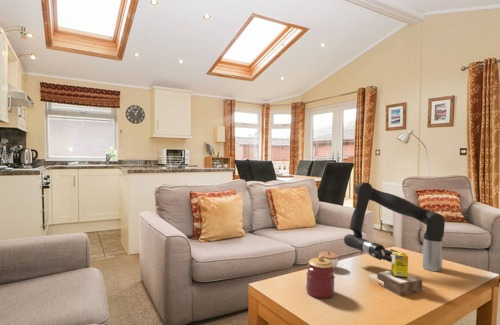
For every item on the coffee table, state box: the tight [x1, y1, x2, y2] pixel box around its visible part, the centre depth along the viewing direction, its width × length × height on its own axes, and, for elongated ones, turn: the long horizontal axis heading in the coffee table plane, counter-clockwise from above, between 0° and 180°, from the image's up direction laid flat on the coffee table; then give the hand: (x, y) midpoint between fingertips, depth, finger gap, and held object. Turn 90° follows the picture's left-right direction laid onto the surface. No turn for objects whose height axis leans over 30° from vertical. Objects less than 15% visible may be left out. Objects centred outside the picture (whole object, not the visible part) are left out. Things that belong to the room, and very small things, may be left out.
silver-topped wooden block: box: [377, 270, 423, 297], centre depth 148 cm, size 14×14×6 cm
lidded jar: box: [318, 251, 339, 268], centre depth 172 cm, size 11×11×9 cm
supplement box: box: [390, 251, 409, 278], centre depth 148 cm, size 6×6×11 cm
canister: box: [305, 255, 336, 300], centre depth 140 cm, size 13×13×18 cm
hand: (397, 259), depth 149 cm, fingers open, 8 cm apart
